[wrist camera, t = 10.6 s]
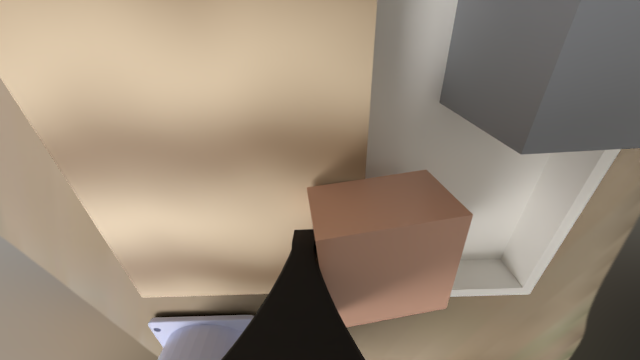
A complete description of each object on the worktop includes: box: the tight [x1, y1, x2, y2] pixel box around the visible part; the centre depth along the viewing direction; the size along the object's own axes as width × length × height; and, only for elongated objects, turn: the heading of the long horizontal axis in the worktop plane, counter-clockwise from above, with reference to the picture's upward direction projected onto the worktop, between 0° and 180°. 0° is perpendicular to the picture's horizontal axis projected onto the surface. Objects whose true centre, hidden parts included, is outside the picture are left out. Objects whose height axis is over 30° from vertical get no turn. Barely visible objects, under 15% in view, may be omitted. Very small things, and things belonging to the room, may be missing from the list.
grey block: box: [439, 0, 640, 155], centre depth 7 cm, size 5×5×3 cm
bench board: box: [0, 0, 377, 298], centre depth 11 cm, size 16×12×2 cm
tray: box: [365, 0, 621, 297], centre depth 11 cm, size 17×10×2 cm, turn 2°
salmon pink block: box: [307, 170, 473, 327], centre depth 10 cm, size 5×5×3 cm
